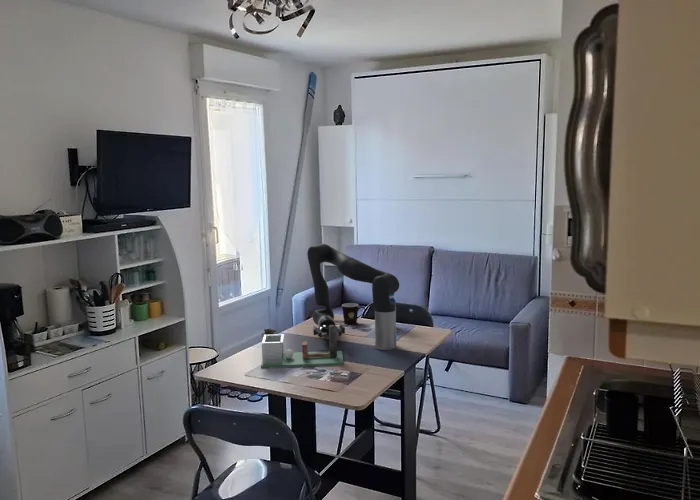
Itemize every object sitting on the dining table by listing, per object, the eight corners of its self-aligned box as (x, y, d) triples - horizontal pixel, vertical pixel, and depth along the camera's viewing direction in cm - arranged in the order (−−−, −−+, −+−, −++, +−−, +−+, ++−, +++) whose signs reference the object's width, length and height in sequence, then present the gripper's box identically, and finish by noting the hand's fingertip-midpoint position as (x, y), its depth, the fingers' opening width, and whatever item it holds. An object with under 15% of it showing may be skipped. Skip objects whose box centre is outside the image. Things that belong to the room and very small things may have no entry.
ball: (293, 356, 248) (293, 347, 248) (293, 359, 245) (292, 350, 244) (284, 357, 248) (283, 348, 248) (283, 360, 244) (283, 351, 244)
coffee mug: (340, 325, 301) (339, 306, 300) (345, 321, 309) (344, 302, 308) (361, 326, 298) (361, 307, 296) (366, 322, 306) (365, 303, 305)
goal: (284, 354, 252) (284, 334, 251) (283, 363, 240) (282, 342, 239) (265, 354, 252) (264, 334, 251) (262, 364, 240) (261, 343, 239)
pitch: (341, 353, 256) (341, 350, 256) (343, 365, 240) (343, 362, 240) (264, 355, 254) (264, 353, 254) (261, 368, 238) (260, 365, 238)
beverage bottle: (396, 325, 298) (396, 287, 296) (396, 330, 290) (395, 291, 287) (379, 325, 299) (379, 287, 296) (379, 330, 291) (378, 291, 288)
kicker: (336, 353, 250) (336, 324, 248) (337, 357, 245) (336, 327, 243) (302, 355, 249) (302, 325, 247) (302, 358, 244) (301, 328, 242)
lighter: (260, 349, 262) (260, 328, 261) (265, 347, 265) (264, 326, 264) (275, 352, 259) (274, 330, 257) (280, 350, 261) (279, 328, 260)
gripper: (311, 317, 271) (314, 327, 255) (341, 316, 273) (346, 325, 257) (311, 333, 272) (314, 343, 256) (341, 331, 274) (346, 341, 258)
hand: (330, 334), depth 256 cm, fingers open, 8 cm apart
